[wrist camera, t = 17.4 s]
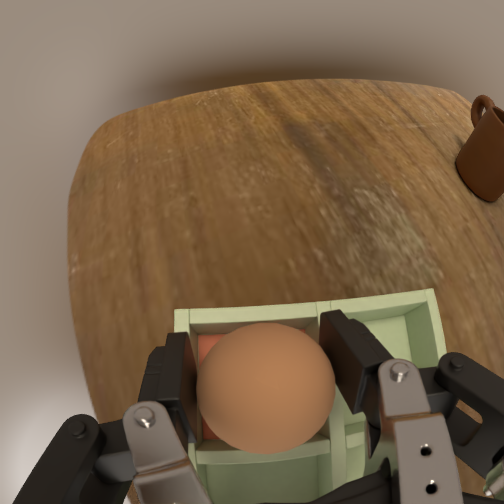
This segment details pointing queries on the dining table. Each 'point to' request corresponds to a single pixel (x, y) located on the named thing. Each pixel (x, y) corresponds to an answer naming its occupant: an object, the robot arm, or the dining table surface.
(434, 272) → the dining table surface
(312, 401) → the egg
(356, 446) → the egg tray
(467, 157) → the mug
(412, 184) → the dining table surface
